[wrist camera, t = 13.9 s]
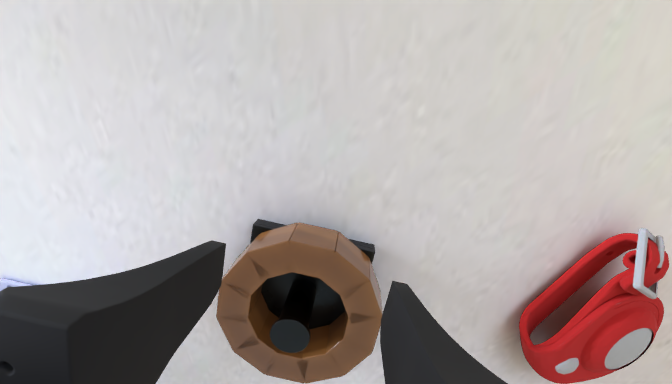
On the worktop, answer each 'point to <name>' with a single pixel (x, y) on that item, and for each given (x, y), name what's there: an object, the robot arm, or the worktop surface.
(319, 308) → the rack
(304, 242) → the ring
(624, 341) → the tracker holder
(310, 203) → the worktop surface
